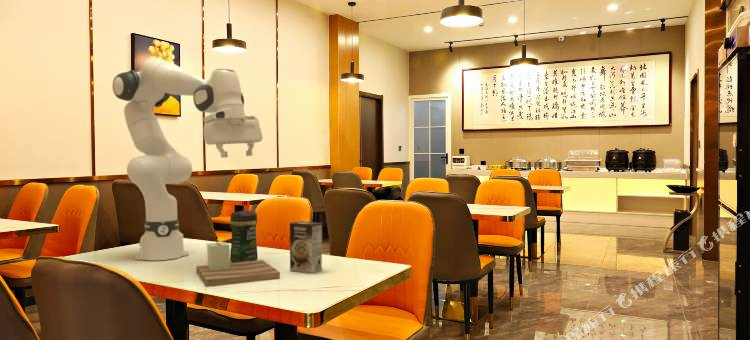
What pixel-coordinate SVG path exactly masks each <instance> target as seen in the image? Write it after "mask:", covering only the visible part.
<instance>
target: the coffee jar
mask: <svg viewBox="0 0 750 340" xmlns="http://www.w3.org/2000/svg"><path fill="white" fill-rule="evenodd" d="M229 224H230V226H231V239H230V241H231V242H230V263H235V262H245V261H256V260H258V245H257V224H258V213H257V212H256V211H255V210H241V211H240V210H239V211H234V212H232V213H231V214H230V219H229Z"/></svg>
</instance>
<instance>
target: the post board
mask: <svg viewBox="0 0 750 340" xmlns="http://www.w3.org/2000/svg"><path fill="white" fill-rule="evenodd" d="M195 267H196V268H195V271H196V274H197V275H198V276H199V278H200V280H201V281H202V282H203V284H204V285H205V287H206V288H207V287H215V286H216V285H217V286H224V285H225V286H226V285H234V284H242V283H254V282H259V281H260V282H261V281H270V280H279V279H280V278H281V272H280V271H279V270H278V269H276V268H274V267H273V266H272V265H270V264H268V263H267V262H266V261H265V260H263V259H259V260H258V259H257V260H256V261H245V262H235V263H233V262H230V269H226V270H216V271H210V270H209V269H208V264H204V265H203V264H202V265H196V266H195Z"/></svg>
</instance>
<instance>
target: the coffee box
mask: <svg viewBox="0 0 750 340" xmlns="http://www.w3.org/2000/svg"><path fill="white" fill-rule="evenodd" d="M322 235H323V223H322V222H316V221H315V222H313V221H302V220H301V221H294V222H293V221H292V222H290V223H289V259H290V260H289V270H290V271H291V272H297V273H306V274H315V273H317V272H320V271H322V270H323V251H322V250H323V242H322V241H323V236H322Z"/></svg>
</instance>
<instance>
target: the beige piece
mask: <svg viewBox="0 0 750 340" xmlns="http://www.w3.org/2000/svg"><path fill="white" fill-rule="evenodd" d="M206 246H207V247H206V249H207V250H206V251H207V253H206V254H207V256H206V257H207V261H206V262H207V265H208V269H209V270H210V271H216V270H226V269H230V263H231V261H230V253H231V244H229V243H227V242H226V241H224V242H213V243H212V242H211V243H207V244H206Z"/></svg>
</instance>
